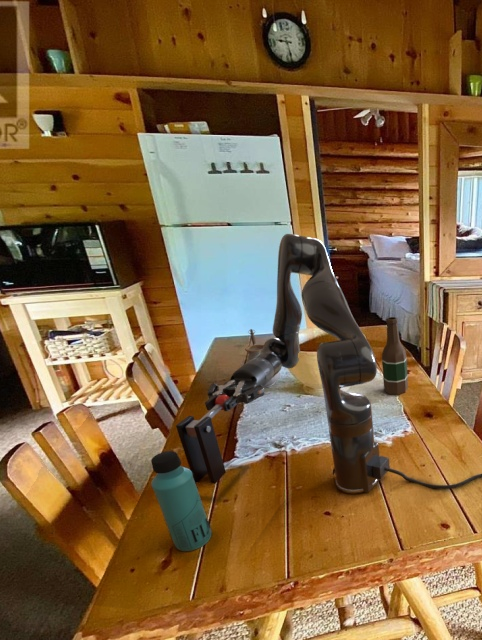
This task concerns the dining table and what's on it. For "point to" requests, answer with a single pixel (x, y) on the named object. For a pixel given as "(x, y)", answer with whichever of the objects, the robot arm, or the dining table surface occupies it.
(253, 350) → the coffee pot
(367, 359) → the robot arm
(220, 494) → the dining table surface
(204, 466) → the tap bracket
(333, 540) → the dining table surface
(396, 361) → the beer bottle
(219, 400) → the tap lever
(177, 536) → the beverage bottle
